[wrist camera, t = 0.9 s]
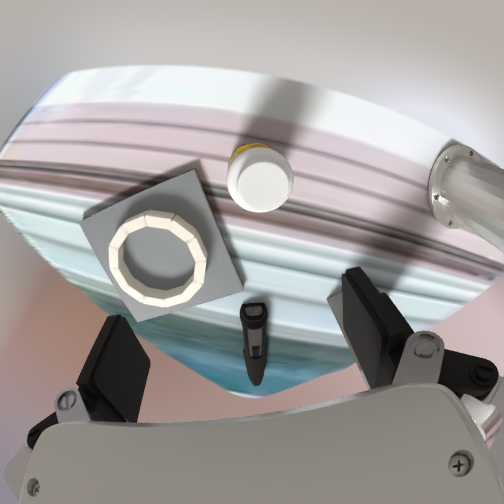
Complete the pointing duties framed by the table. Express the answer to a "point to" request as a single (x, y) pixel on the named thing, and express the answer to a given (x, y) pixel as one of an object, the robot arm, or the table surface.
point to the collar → (163, 248)
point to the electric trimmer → (254, 339)
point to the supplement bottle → (259, 177)
